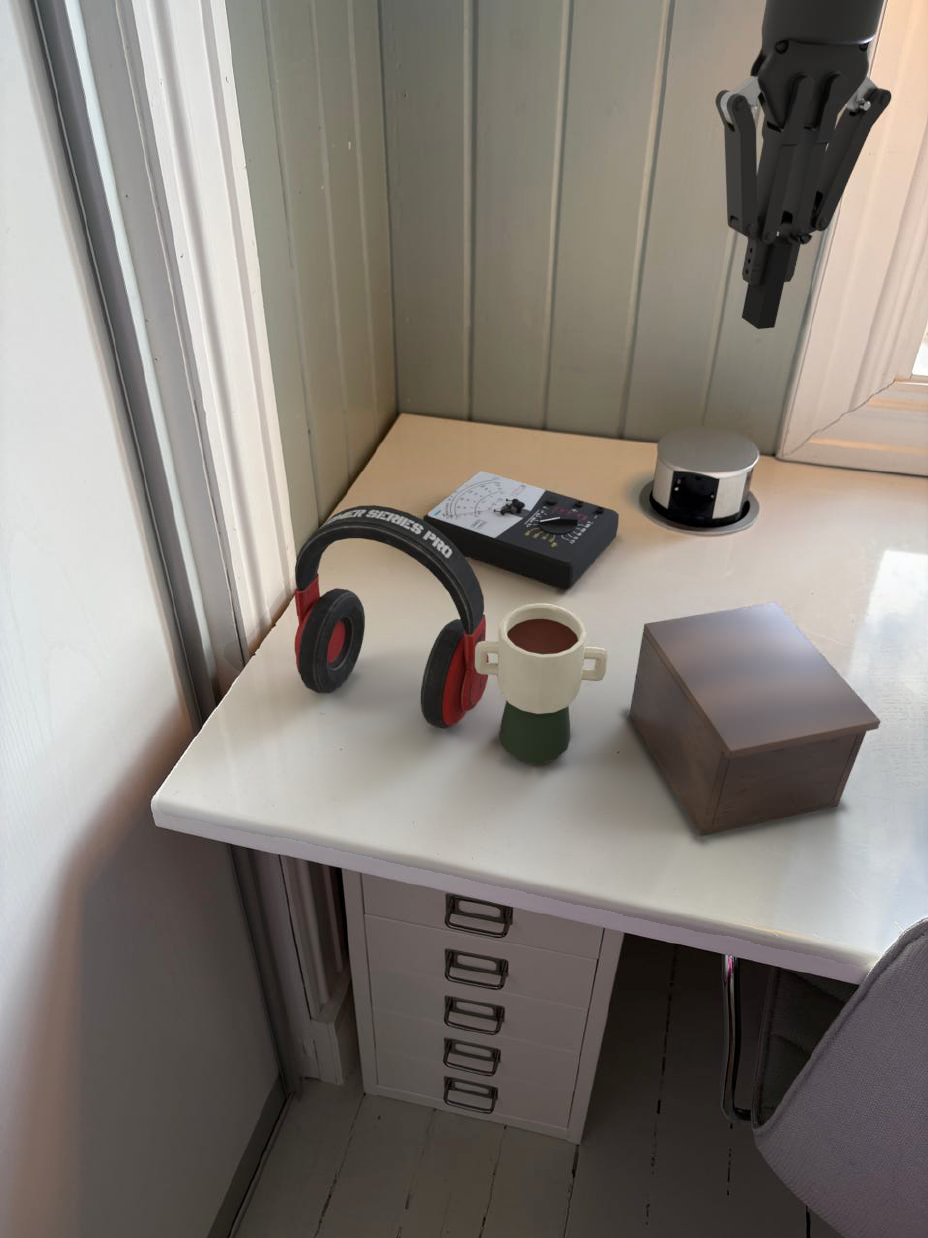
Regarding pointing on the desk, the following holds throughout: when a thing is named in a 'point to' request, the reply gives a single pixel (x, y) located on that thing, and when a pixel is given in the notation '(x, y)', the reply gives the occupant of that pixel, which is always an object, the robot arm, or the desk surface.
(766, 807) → the chest
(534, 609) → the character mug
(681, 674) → the chest lid
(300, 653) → the headphones
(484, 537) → the multimeter
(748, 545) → the desk surface
